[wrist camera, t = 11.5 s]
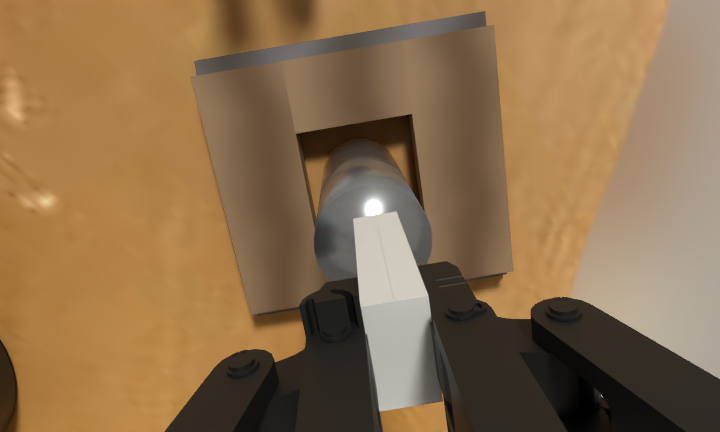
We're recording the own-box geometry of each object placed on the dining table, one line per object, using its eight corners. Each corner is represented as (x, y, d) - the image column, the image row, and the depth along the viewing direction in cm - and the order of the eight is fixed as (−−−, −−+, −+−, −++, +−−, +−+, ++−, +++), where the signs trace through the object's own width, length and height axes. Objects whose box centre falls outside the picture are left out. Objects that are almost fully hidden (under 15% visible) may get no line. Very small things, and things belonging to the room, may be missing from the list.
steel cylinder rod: (330, 215, 31) (325, 305, 19) (317, 144, 29) (303, 196, 18) (401, 203, 31) (438, 287, 19) (391, 132, 29) (424, 175, 18)
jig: (258, 311, 32) (253, 326, 30) (197, 61, 28) (186, 60, 26) (503, 270, 32) (514, 283, 30) (482, 12, 28) (492, 8, 26)
